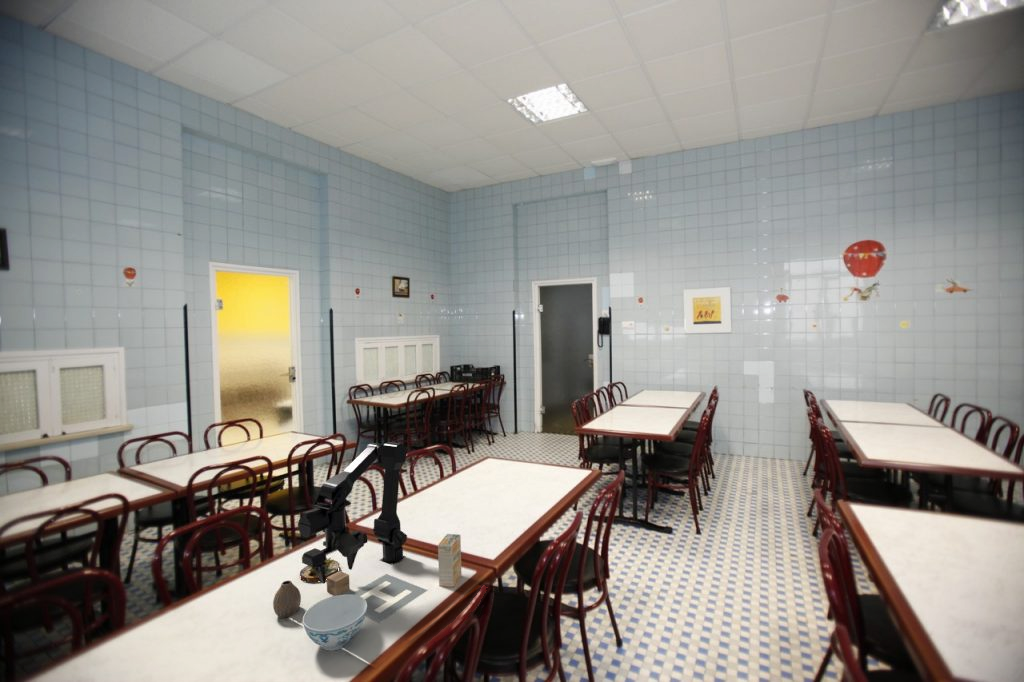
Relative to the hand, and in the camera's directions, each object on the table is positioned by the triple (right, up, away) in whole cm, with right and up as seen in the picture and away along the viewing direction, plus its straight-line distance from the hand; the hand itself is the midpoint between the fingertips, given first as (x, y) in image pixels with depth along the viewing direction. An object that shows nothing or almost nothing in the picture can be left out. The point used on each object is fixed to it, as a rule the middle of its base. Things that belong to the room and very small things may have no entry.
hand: (337, 576), depth 138 cm
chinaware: (+8, -6, -22) cm, 24 cm away
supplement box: (+33, -4, +5) cm, 34 cm away
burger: (-10, -6, +12) cm, 17 cm away
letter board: (+15, -5, -3) cm, 16 cm away
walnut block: (0, -5, 0) cm, 5 cm away
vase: (-10, -6, -10) cm, 15 cm away
